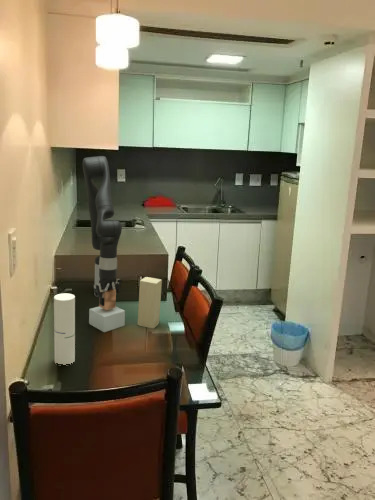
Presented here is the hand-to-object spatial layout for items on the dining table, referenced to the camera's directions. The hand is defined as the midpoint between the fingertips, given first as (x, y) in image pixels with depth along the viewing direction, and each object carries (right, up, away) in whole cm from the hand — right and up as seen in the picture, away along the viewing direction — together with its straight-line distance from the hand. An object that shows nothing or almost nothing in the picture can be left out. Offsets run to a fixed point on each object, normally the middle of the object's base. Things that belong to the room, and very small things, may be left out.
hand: (107, 303), depth 194 cm
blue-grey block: (-1, -10, +2) cm, 10 cm away
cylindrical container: (-10, -17, -30) cm, 36 cm away
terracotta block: (0, -1, 0) cm, 1 cm away
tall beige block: (+18, -10, +6) cm, 21 cm away
